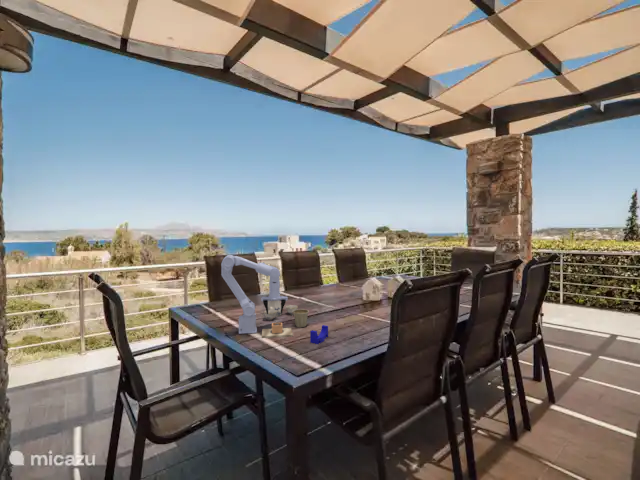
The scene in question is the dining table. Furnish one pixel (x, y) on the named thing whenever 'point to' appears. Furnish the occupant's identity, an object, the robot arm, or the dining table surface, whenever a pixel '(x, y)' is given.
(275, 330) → the collar
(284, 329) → the post plate
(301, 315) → the flower pot
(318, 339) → the cable clip
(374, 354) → the dining table surface
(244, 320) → the robot arm
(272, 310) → the chinaware
